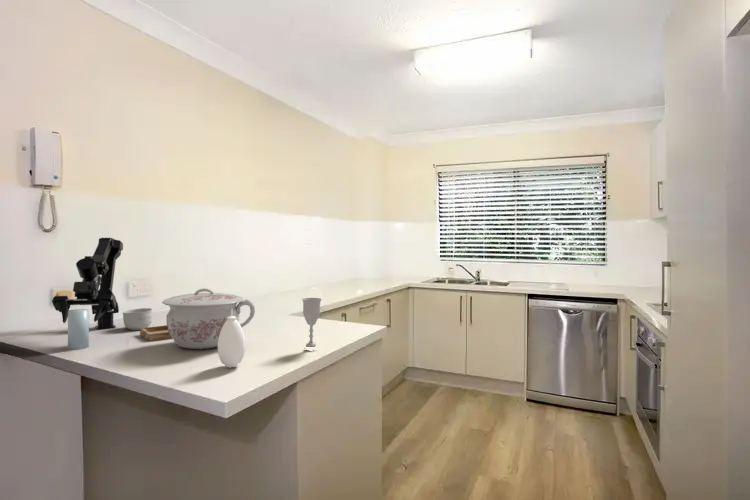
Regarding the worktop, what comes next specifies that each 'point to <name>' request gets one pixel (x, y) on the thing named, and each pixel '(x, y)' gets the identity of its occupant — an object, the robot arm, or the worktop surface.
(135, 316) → the teacup
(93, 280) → the robot arm
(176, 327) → the chamber pot
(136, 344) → the worktop surface
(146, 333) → the tray
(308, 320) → the chalice
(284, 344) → the worktop surface
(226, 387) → the worktop surface
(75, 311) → the pale blue rounded cylinder
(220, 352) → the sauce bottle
